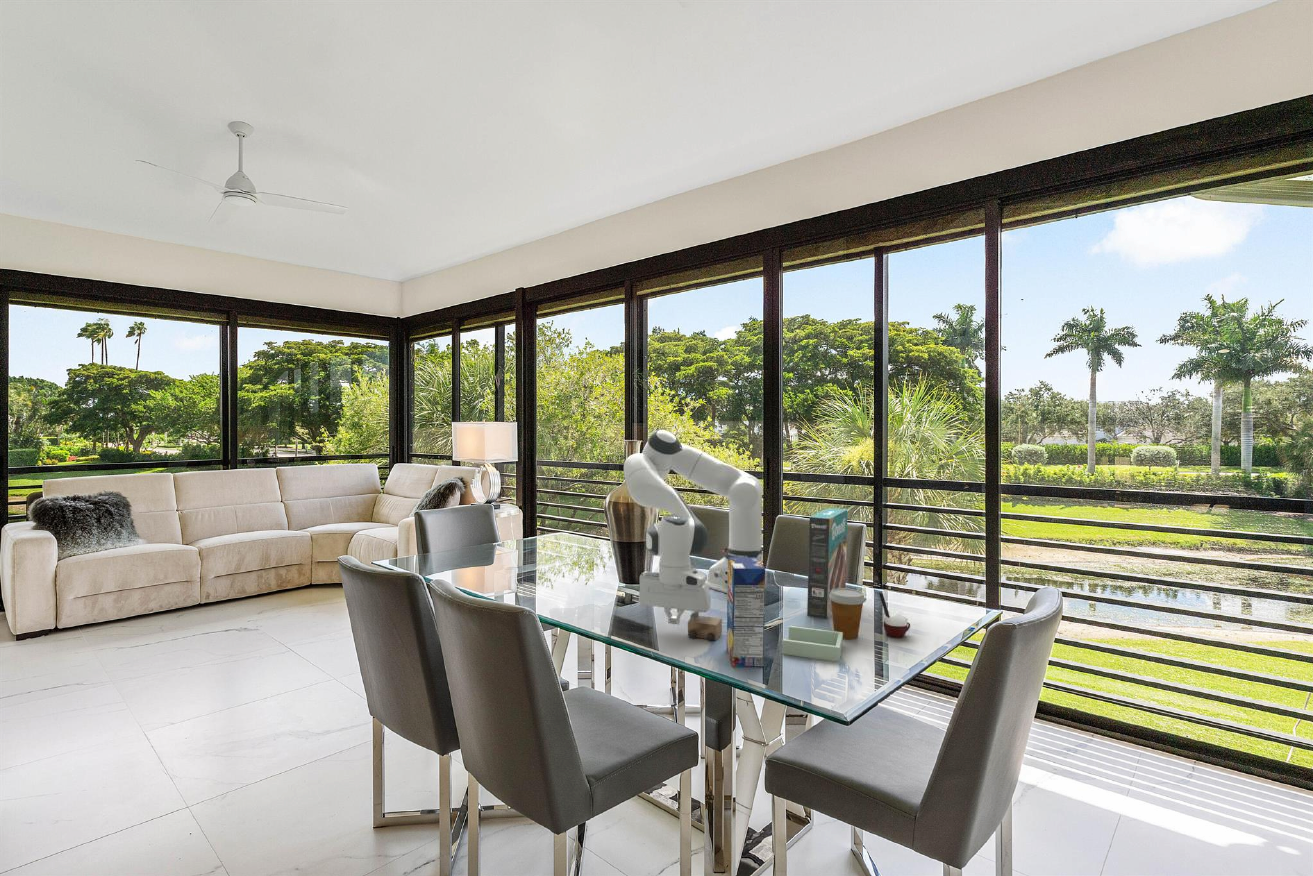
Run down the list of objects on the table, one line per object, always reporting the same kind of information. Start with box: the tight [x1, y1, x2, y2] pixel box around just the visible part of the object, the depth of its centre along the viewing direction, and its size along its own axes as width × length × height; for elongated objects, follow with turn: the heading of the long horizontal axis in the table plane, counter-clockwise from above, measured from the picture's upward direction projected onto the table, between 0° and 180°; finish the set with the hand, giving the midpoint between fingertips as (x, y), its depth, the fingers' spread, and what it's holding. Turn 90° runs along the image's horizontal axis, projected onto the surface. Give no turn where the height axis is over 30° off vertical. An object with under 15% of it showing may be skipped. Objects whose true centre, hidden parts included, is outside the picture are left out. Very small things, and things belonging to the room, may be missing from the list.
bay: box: [781, 625, 844, 663], centre depth 169 cm, size 14×12×4 cm
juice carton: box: [726, 557, 766, 669], centre depth 162 cm, size 12×8×24 cm, turn 0°
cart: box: [687, 611, 723, 642], centre depth 179 cm, size 8×8×6 cm
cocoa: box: [878, 591, 911, 639], centre depth 180 cm, size 10×6×12 cm, turn 81°
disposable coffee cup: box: [829, 587, 866, 640], centre depth 180 cm, size 10×10×12 cm
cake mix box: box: [806, 507, 849, 620], centre depth 204 cm, size 22×6×30 cm, turn 150°
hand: (674, 623), depth 182 cm, fingers closed
